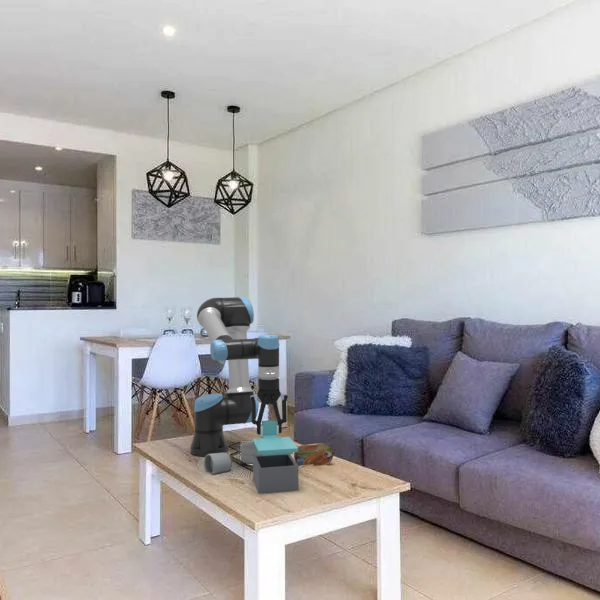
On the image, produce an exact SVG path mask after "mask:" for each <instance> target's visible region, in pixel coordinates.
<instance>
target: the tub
mask: <svg viewBox="0 0 600 600" xmlns="http://www.w3.org/2000/svg"><path fill="white" fill-rule="evenodd" d="M252 480H253V482H254V485H255V488H256V490H257V493H258V494H259V495H261V494H264V495H265V494H274V493H275V494H276V493H288V492H290V493H291V492H299V487H300V486H299V466H298V464H297V463H296V462H295V459H294V456H292V454H286V455H271V456H262V455H259V456H253V466H252Z"/></svg>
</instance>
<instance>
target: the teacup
mask: <svg viewBox="0 0 600 600" xmlns="http://www.w3.org/2000/svg"><path fill="white" fill-rule="evenodd" d="M259 455H262V454H259ZM259 455H258V453H257V450H256V448H255V446H254V444H253V441H248V442H243V443H241V444H240V458H241V459H240V460H241V461H242V462H243V464H245V463H246V464H253V456H259ZM246 464H245V465H246Z"/></svg>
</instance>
